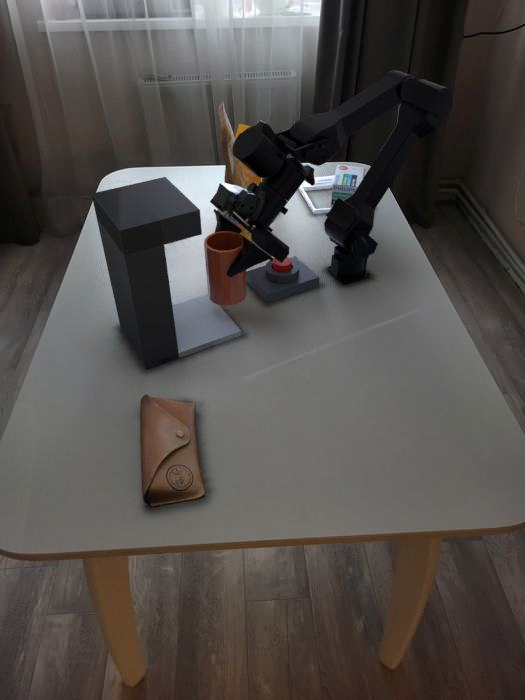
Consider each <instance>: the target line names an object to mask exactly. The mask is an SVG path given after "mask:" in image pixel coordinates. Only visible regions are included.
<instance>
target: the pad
mask: <svg viewBox="0 0 525 700" xmlns="http://www.w3.org/2000/svg"><path fill="white" fill-rule="evenodd" d="M289 258H290V259H291V261H292V263H291V270H290V271H288V272H276V271H274V270H273V260H272V261H271V260H268V261H267V262H266V263H265V265H262V266H259V267H255V268H253V269H248V270H246V283H247V285H248V286H249V287H250V288H251V289H252V290H253V291H254V292H255V293H256V294H257V295H258V296H259V297H260V298H261V300H263V301H264V302H265V304H271V303H274V302H276V301H277V302H278V301H279V300H282V299H286V298H289V297H291V296H294V295H297V294H300V293H303V292H306V291H309V290H312V289H314V288H317V287H319V286H320V279H321V277H320V275H318V274H317V273H316V272H314V270H312V269H311V268H310V267H309V266H308V265H306V263H304V262H303V261H302V260H301V259H300V258H298V257H297V255H294V256H291V257H289Z"/></svg>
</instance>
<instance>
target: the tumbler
mask: <svg viewBox="0 0 525 700" xmlns="http://www.w3.org/2000/svg"><path fill="white" fill-rule="evenodd" d="M242 248H243V236H242V235H241V234H239V233H237V232H232V231H220V232H215V231H214V232H213V233H211V234H208V235H207V236H206V237H204V242H203V249H204V259H205V273H206V283H207V284H206V285H207V294H208V295H209V299H210V300H211V301H212V302H213V303H215V304H217V305H220V307H221V306H223V307H232V306H237V305H238V304H241V303H242V302H244V300H245V299H246V298H247V295H248V293H247V291H248V289H247V288H248V287H247V285H248V284H247V283H246V271H247V270H245V271H243V272H241V273H239V274H237V275H235V276H233V277H229V276H228V275H227V272H228V270H229V268H230V266H231V265H232V263H233V262H234V260H235V259H236V257H237V256H238V254H239V253H240V251H241V250H242Z"/></svg>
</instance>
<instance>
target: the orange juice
mask: <svg viewBox="0 0 525 700" xmlns="http://www.w3.org/2000/svg"><path fill="white" fill-rule="evenodd" d="M249 127H252V126H251V125H247V124H243V123H240V122H239V123H238V127H237V130H236V133H235V135H234V137H235V140H236V138H237V137H238V135H239V134H240V133H242V132H243V131H244V130H246V129H247V128H249ZM241 164H242V169H243V173H244V176H245V181H246V186H247V187H248V186H249V185H250V184H251V183H253V182H254V183H255V184H257V185H258V184H259V183H260V181H261V180H262V179H263V178H260V177H258V176H257V175H255V174H254V173H253V172H252V171H251V170H250V169H248V168H247V167H246V166H245V165H244V164H243V163H241Z"/></svg>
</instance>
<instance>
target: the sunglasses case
mask: <svg viewBox="0 0 525 700" xmlns="http://www.w3.org/2000/svg"><path fill="white" fill-rule="evenodd" d="M139 403H140V406H139V407H140V410H139V411H140V414H139V422H140V425H139V427H140V428H139V429H140V471H141V473H140V474H141V490H142V491H141V492H142V500H143V502H144V503H145V504H147V506H149V507H159V506H165V505H173V504H179V503H184V502H188V501H192V500H198V499H201V498H203V497H204V496H205V495H206V488H205V482H204V478H203V473H202V469H201V463H200V455H199V450H198V449H199V448H198V438H197V427H196V426H197V425H196V402H195V401H187V402H186V401H179V400H173V399H167V398H161V397H155V396H150V395H149V394H144V395H143V396H142V397H141V398H140V402H139Z"/></svg>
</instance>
